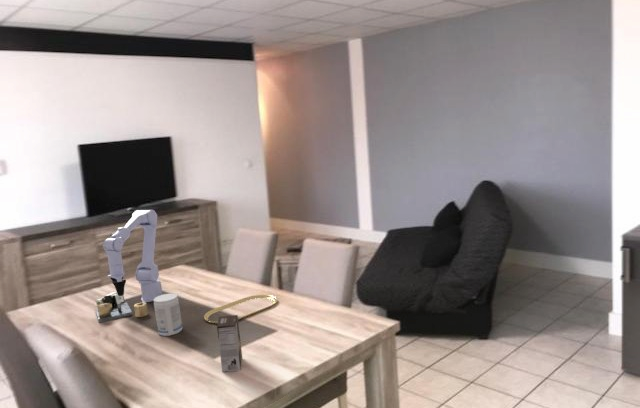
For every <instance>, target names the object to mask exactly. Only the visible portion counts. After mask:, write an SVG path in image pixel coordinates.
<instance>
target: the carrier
mask: <svg viewBox="0 0 640 408" xmlns="http://www.w3.org/2000/svg"><path fill="white" fill-rule="evenodd" d="M94 311H95V315H96V318H97V321H98V323H104V321H105V322H109V321H112V320H117V319H120V318H121V319H122V318H126V317H129V316H133V311H132V309H131V308H130V306H129V303H128V302H127V301H126V302H122V303H118V304H117V305H115V306H112V303H103V304H100V305H98V306H97V305H96V308H95V309H94ZM108 320H109V321H108Z"/></svg>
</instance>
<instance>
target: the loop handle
mask: <svg viewBox="0 0 640 408" xmlns="http://www.w3.org/2000/svg"><path fill="white" fill-rule="evenodd" d="M255 298H256V299H255ZM257 298H261V299H263V298H267V300H270V299H271V301H272V300H273V301H274V302H273V301H272V302H273V303H274V304H271V305H268V306H266V307H263V308H261V309H258V310H255V311H253V312H250V313H248V314H246V315H244V316H243V315H242V316H239V317H238V321H240V320H242V318H243V319H245V318H248V317H250V316H252V314H253V315H255V314H258V313H260V312H263V311H266V310H267V309H271V308H272V307H274V306H275V305H276V304H277V302H278V299H277V297H276V296H273V295H269V294H259V295H258V294H256V295H250V296H246V297H244V298H243V297H242V298H240V299H238V300H235V301H232V302H229V303H227V304H224V305H222V306H219V307H216V308H213V309H211V310H209V311H207V312H205V314H204V315H203V319H204V320H205V321H206V322H208V323H210V324H214V323H215V325H217V324H218V321H212V320H209V317H210V316H211V315H213V314H215V313H218V312H221V311H223V310H227V309H229V308H231V307H234V306H237V305H239V303H240V304H242V302H243V303H245V302H247V301H246V300H248V301H251V300H250V299H252V300H257ZM244 301H245V302H244ZM236 304H237V305H236ZM247 316H248V317H247ZM208 320H209V321H208Z"/></svg>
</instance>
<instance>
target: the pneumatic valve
mask: <svg viewBox="0 0 640 408" xmlns="http://www.w3.org/2000/svg"><path fill="white" fill-rule="evenodd" d="M124 296H125V295H123V296H118V293H117V291H113V292H110V293H108V294H106V295H104V296H103V297H102V298H98V299H96V300H95V303H96V307H97V306H98V305H100V304H103V303H112V306H115V305H117V304H118V303H120V304H121V303H124V302H125V297H124Z"/></svg>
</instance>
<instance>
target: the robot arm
mask: <svg viewBox="0 0 640 408" xmlns="http://www.w3.org/2000/svg"><path fill="white" fill-rule="evenodd" d="M157 225H158V214H157V212H156V211H155V210H154V209H136V210H134V212H133V213H132V214H131V218H130V219H129V220H128V221H127V222H126V224H125V225H124V226H121V227H117V231H115V232H114V233H113V234H112V235H111V236H110V237H108V238H106V239H105V240H104V241H103V244H102V248H103V250H104V251H105V255H106V256H107V260H108V261H107V262H108V268H109V274H108V275H107V278H110V280H111V281H112V282H111V283H112V284H113V286H114V289H115V292H117V293H118V296H125V286H126V282H127V280H126V279H124V276H125V275H126V273H125V270H124V264H123V257H122V249H123V246H124V244H125V242H126V241H127V239H128V238H129V237H130V236H131V231H133V230H134V229H135V228H136V227H137V226H139V227H141V228H143V230H144V231H143V233H144V235H143V245H142V254H141V255H142V257H141V262H140V263H139V264H138V265H137V267H136V270H135V279H136V280H137V282H138V283H139V284H140V289H141V290H140V291H141V298H140V300H141V302H145V303H146V304H147V303H150V302H154V298H156V297H158V296H160V295H164V293H163V287H162V283H161V280H160V279H159V274H160V273H159V266H158V265H157V264H156V263H155V262H154V260H155V259H154V258H155V247H156V236H157Z"/></svg>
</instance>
